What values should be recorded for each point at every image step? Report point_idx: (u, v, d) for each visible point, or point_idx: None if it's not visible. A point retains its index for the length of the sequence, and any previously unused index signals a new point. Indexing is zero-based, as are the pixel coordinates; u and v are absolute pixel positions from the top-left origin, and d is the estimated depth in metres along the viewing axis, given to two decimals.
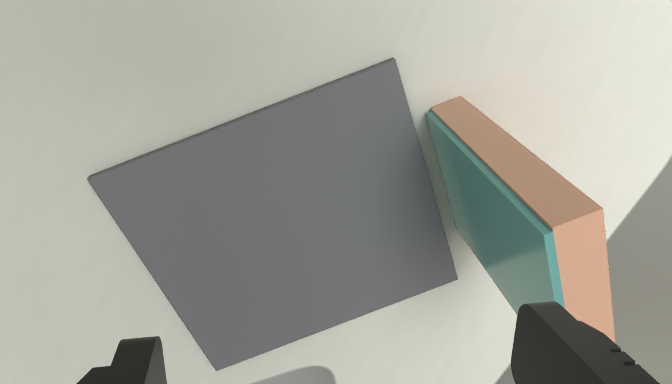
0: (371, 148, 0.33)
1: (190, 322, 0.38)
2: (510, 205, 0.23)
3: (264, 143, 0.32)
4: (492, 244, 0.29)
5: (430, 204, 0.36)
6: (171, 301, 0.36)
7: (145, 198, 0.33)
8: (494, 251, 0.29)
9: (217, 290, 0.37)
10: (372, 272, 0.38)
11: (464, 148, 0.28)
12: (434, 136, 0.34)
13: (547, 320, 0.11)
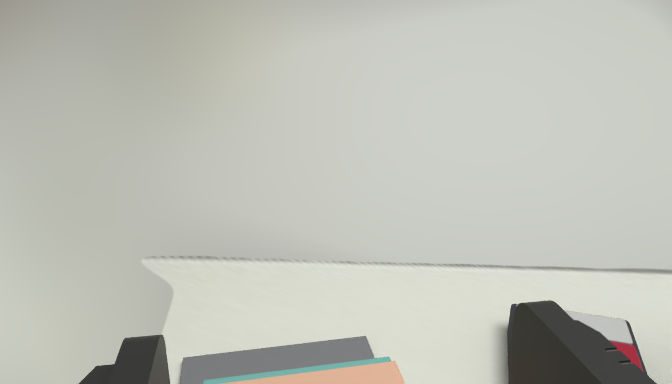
0: None
1: (238, 354, 0.50)
2: None
3: None
4: None
5: None
6: (262, 349, 0.51)
7: (346, 354, 0.50)
8: None
9: (258, 372, 0.48)
10: None
11: None
12: None
13: (543, 319, 0.11)
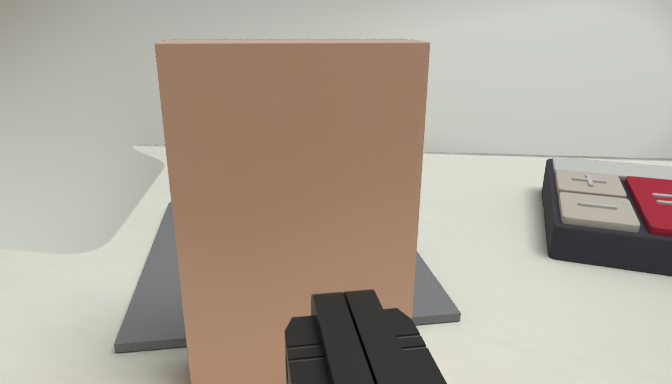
0: None
1: None
2: None
3: None
4: None
5: None
6: None
7: None
8: None
9: None
10: None
11: None
12: None
13: (353, 306, 0.11)
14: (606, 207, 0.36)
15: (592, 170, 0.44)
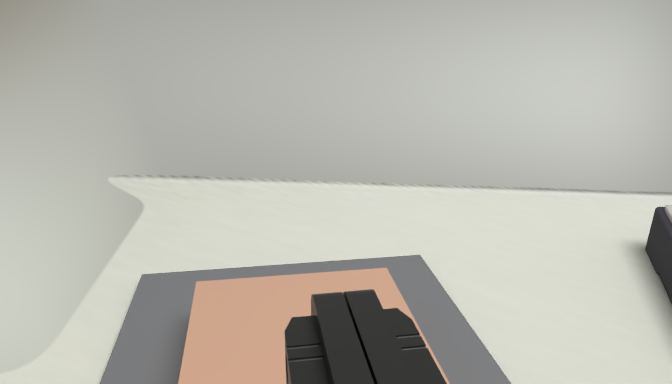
0: None
1: (227, 271, 0.33)
2: None
3: (451, 357, 0.25)
4: None
5: None
6: (264, 266, 0.33)
7: (393, 274, 0.32)
8: None
9: None
10: None
11: None
12: None
13: (353, 306, 0.11)
14: None
15: None
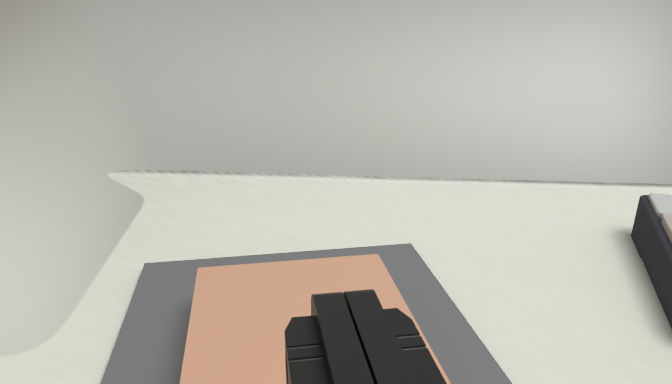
0: None
1: (226, 260, 0.34)
2: None
3: (439, 336, 0.26)
4: None
5: None
6: (261, 255, 0.35)
7: (384, 262, 0.34)
8: None
9: None
10: None
11: None
12: None
13: (353, 306, 0.11)
14: None
15: None
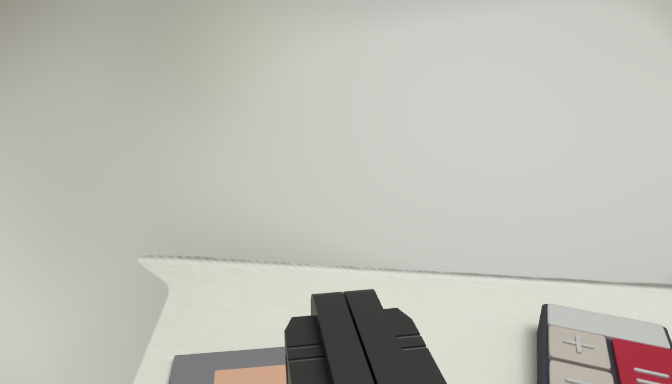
0: None
1: (233, 353, 0.47)
2: None
3: None
4: None
5: None
6: (258, 349, 0.48)
7: None
8: None
9: None
10: None
11: None
12: None
13: (353, 306, 0.11)
14: None
15: (582, 326, 0.48)
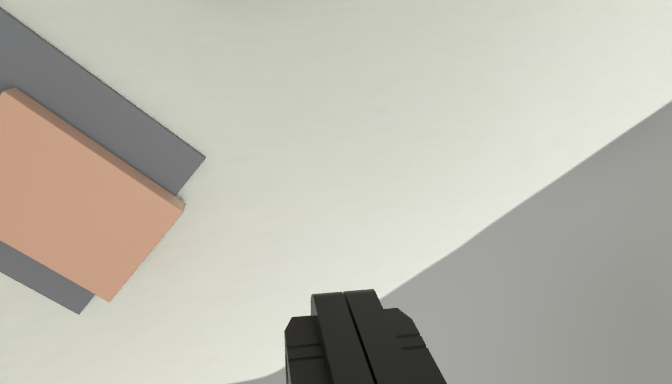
0: None
1: None
2: None
3: (90, 105, 0.40)
4: None
5: None
6: None
7: None
8: None
9: None
10: None
11: (119, 160, 0.41)
12: None
13: (353, 306, 0.11)
14: None
15: None
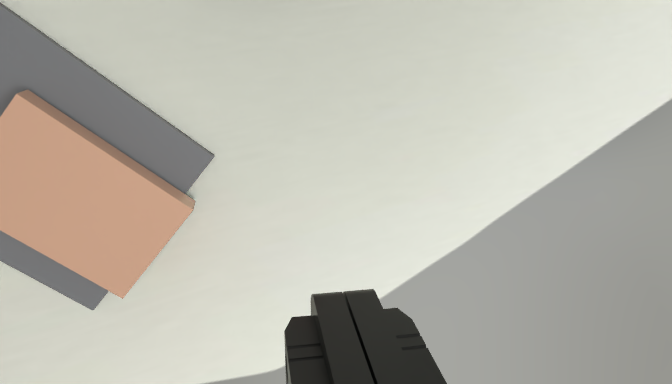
0: None
1: None
2: None
3: (101, 106, 0.41)
4: None
5: None
6: None
7: None
8: None
9: None
10: None
11: (129, 159, 0.42)
12: None
13: (353, 306, 0.11)
14: None
15: None
